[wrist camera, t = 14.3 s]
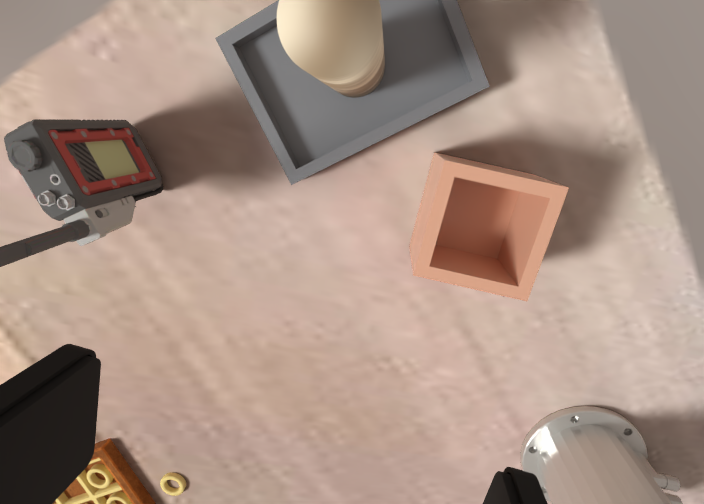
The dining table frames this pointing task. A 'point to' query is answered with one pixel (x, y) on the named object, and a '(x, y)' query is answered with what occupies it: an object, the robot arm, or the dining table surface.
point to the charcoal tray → (346, 112)
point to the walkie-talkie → (80, 178)
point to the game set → (112, 481)
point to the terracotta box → (484, 226)
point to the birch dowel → (335, 42)
